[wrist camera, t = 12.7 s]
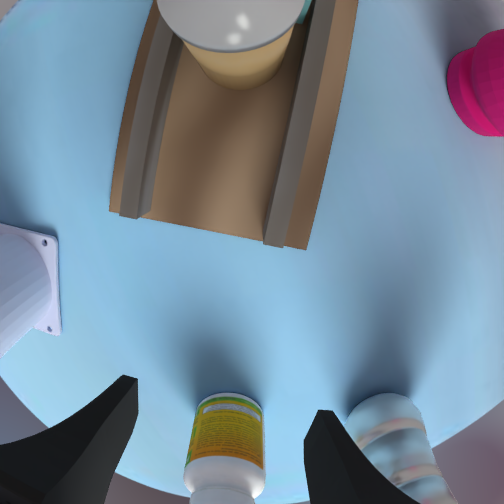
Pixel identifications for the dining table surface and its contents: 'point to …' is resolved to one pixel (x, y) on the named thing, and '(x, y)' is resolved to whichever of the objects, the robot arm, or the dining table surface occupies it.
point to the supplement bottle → (226, 451)
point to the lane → (233, 134)
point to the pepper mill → (479, 85)
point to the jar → (234, 36)
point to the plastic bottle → (399, 446)
